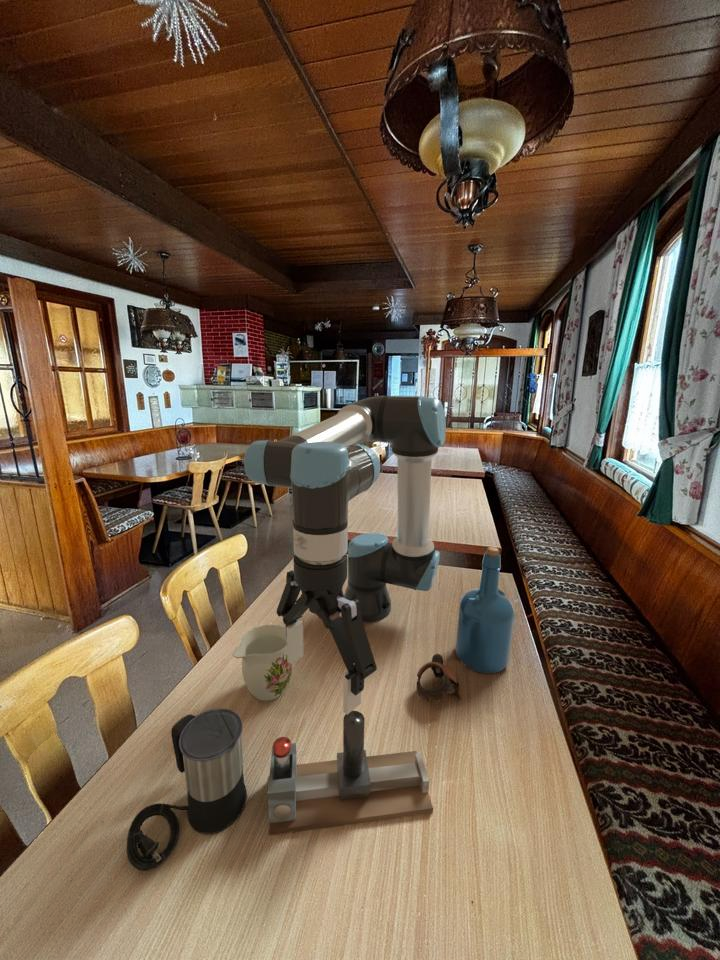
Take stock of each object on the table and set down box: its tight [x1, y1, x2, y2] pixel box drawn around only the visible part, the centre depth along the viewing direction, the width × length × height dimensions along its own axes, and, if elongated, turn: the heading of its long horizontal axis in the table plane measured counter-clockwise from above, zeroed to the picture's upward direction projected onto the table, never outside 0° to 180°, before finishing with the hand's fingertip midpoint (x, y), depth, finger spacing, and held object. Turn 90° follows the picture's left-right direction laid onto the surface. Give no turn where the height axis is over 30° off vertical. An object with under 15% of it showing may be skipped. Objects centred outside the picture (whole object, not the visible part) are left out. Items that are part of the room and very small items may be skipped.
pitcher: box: [232, 624, 296, 702], centre depth 86 cm, size 11×18×14 cm, turn 141°
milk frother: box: [126, 707, 248, 872], centre depth 59 cm, size 14×16×15 cm
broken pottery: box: [416, 653, 462, 704], centre depth 87 cm, size 12×10×8 cm
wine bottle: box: [455, 546, 516, 675], centre depth 94 cm, size 14×13×30 cm
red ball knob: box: [272, 736, 292, 776], centre depth 62 cm, size 3×3×5 cm
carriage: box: [336, 710, 371, 801], centre depth 63 cm, size 6×5×14 cm
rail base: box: [267, 742, 434, 836], centre depth 65 cm, size 10×26×7 cm, turn 98°
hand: (321, 681), depth 59 cm, fingers open, 13 cm apart
